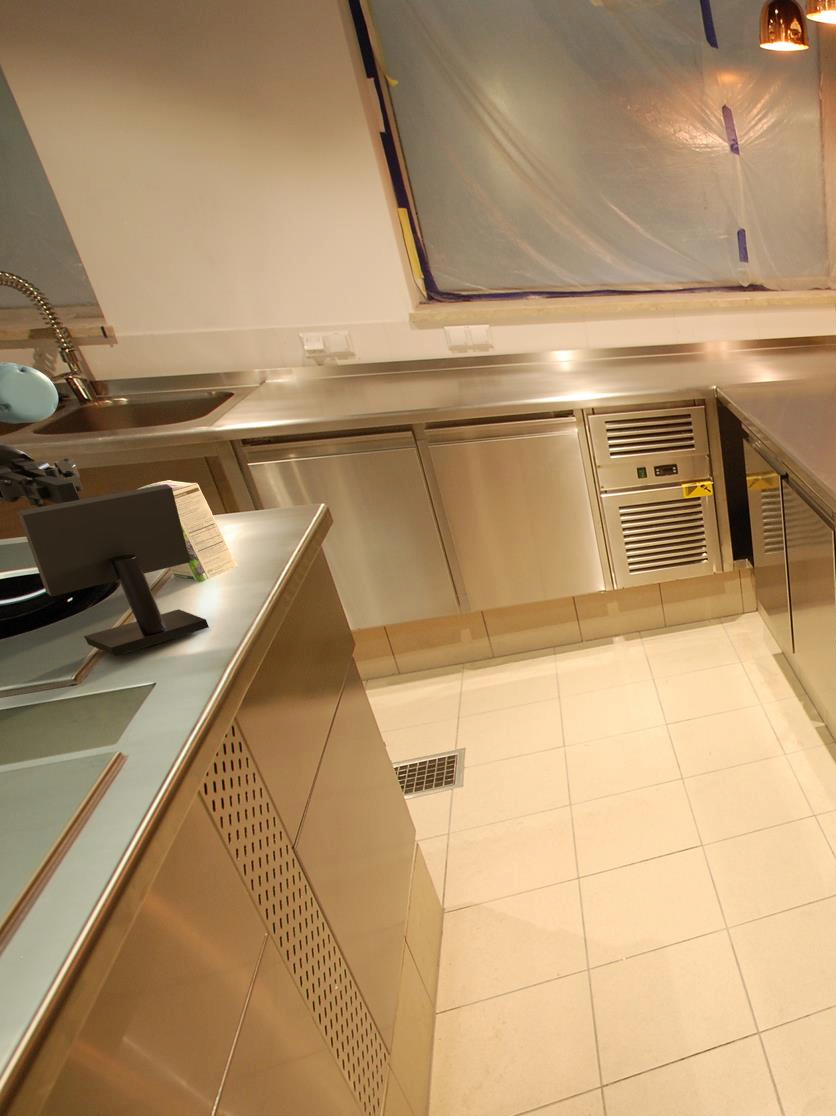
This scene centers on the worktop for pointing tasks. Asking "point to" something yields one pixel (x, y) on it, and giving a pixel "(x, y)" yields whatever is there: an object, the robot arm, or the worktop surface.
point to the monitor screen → (104, 537)
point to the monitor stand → (142, 615)
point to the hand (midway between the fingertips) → (69, 494)
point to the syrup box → (198, 535)
